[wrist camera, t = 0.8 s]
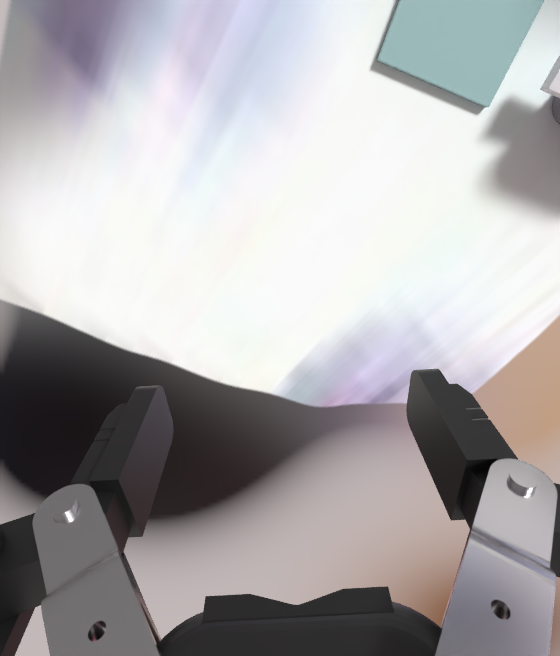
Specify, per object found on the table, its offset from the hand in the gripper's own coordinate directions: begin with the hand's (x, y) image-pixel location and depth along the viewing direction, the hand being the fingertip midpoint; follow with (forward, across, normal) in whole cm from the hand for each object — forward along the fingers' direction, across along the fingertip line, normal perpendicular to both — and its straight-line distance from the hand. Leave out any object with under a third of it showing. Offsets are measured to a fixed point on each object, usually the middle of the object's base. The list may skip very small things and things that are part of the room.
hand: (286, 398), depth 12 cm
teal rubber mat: (+26, -16, -15) cm, 34 cm away
